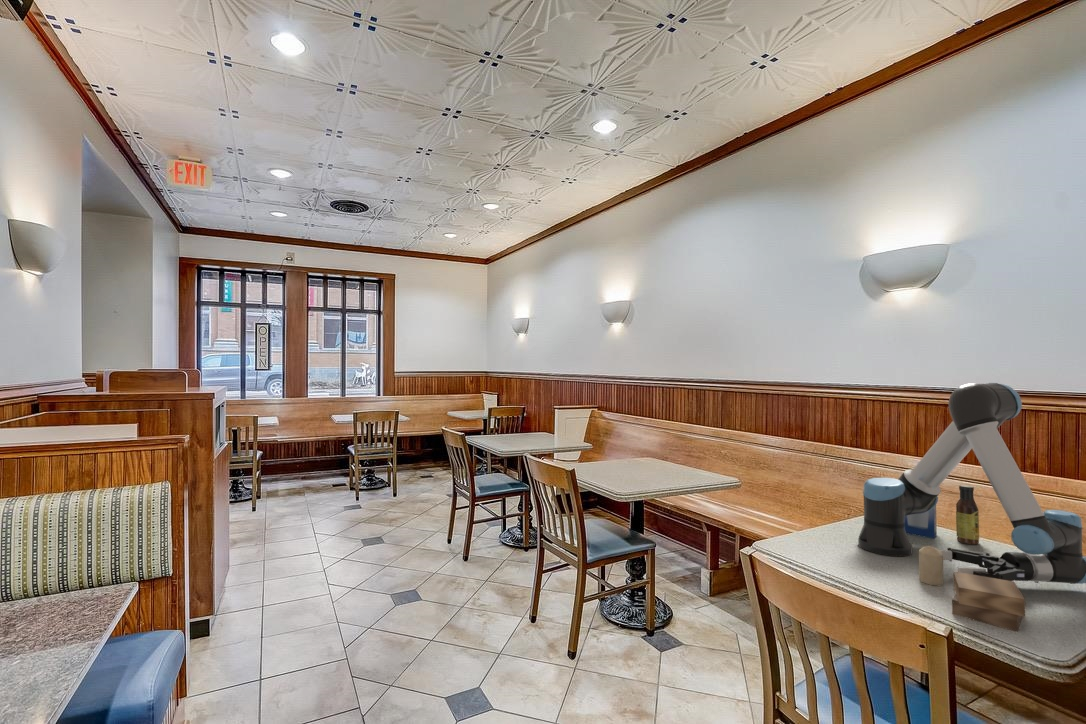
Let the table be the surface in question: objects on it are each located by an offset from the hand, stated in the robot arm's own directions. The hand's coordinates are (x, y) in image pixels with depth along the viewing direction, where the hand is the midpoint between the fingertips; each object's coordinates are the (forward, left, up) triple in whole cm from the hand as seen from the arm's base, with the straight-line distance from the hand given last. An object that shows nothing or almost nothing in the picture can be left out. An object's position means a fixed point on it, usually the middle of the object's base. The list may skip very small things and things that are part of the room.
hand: (942, 563), depth 146 cm
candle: (-2, -1, -6) cm, 7 cm away
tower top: (+12, -15, -2) cm, 19 cm away
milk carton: (-15, +50, -6) cm, 53 cm away
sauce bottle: (-1, +51, -6) cm, 51 cm away
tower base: (+12, -15, -6) cm, 20 cm away
